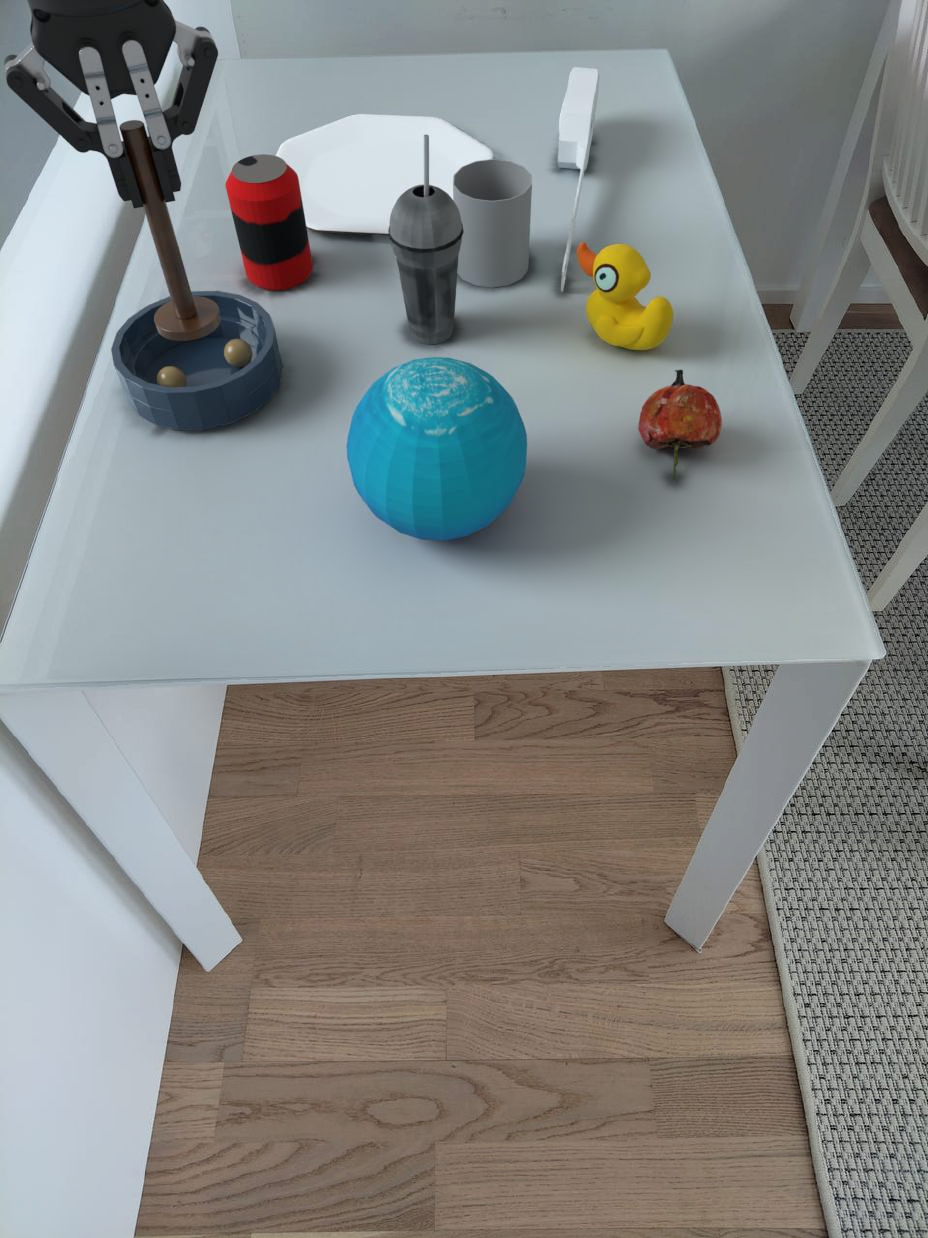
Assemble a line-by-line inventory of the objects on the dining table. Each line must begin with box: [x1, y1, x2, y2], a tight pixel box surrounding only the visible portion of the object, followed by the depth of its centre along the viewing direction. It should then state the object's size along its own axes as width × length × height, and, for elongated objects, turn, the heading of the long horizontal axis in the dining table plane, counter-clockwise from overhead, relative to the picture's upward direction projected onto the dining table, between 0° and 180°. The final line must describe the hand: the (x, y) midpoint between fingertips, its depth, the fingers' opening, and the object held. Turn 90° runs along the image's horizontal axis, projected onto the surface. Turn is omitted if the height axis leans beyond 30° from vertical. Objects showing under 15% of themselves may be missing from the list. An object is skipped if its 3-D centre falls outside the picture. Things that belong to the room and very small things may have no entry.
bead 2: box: [224, 339, 253, 367], centre depth 93 cm, size 3×3×3 cm
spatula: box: [557, 66, 600, 293], centre depth 110 cm, size 38×8×4 cm
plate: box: [275, 113, 494, 237], centre depth 115 cm, size 28×28×2 cm
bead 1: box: [157, 366, 187, 387], centre depth 91 cm, size 3×3×3 cm
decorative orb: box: [346, 356, 528, 541], centre depth 76 cm, size 15×15×15 cm
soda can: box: [224, 154, 314, 292], centre depth 99 cm, size 8×8×12 cm
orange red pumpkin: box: [637, 368, 723, 481], centre depth 84 cm, size 7×7×10 cm
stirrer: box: [118, 119, 221, 341], centre depth 66 cm, size 5×5×15 cm
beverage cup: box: [388, 135, 464, 345], centre depth 90 cm, size 7×7×20 cm
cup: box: [453, 158, 533, 289], centre depth 100 cm, size 8×8×10 cm
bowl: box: [110, 290, 284, 431], centre depth 91 cm, size 16×16×5 cm
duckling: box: [576, 241, 674, 351], centre depth 92 cm, size 11×5×10 cm, turn 51°
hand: (153, 198), depth 64 cm, fingers closed on stirrer
